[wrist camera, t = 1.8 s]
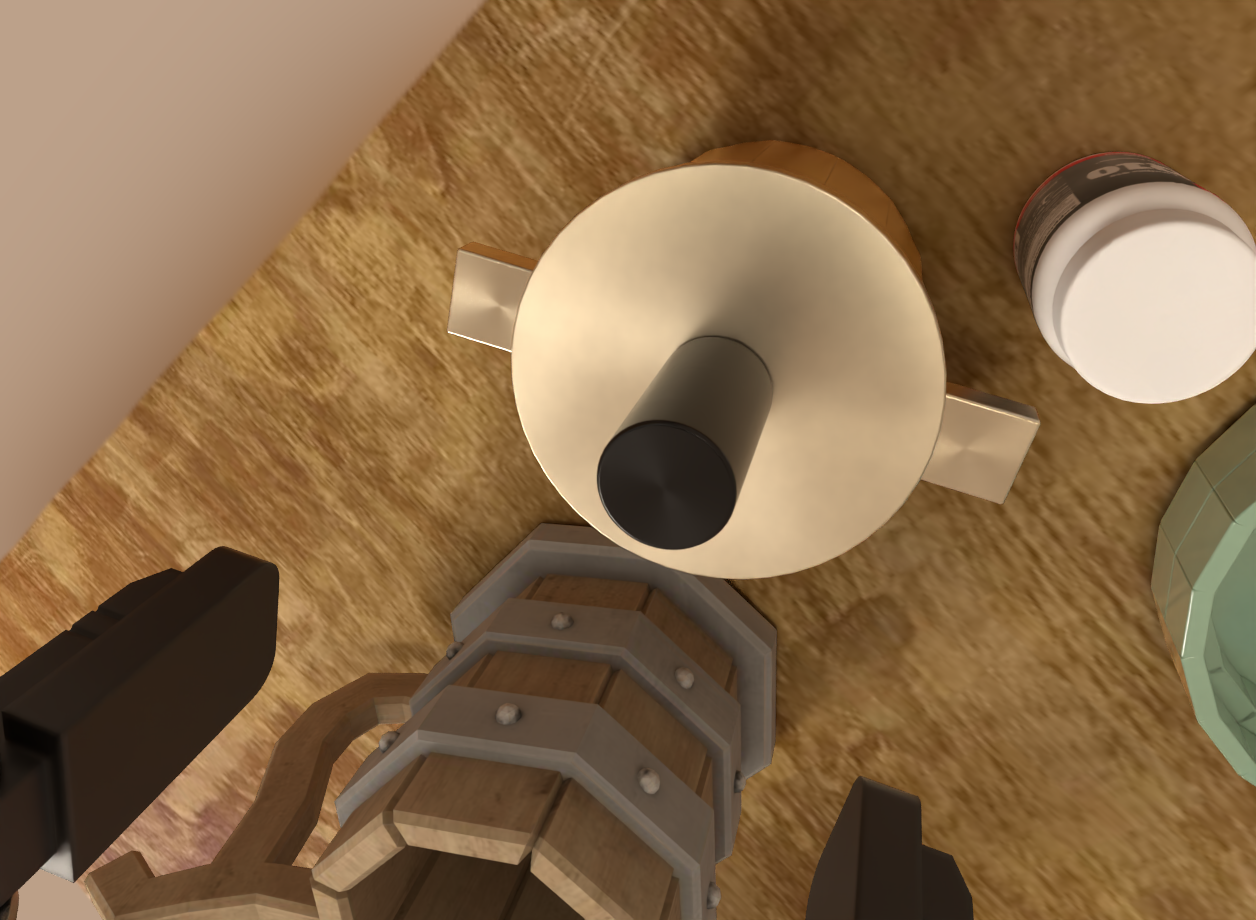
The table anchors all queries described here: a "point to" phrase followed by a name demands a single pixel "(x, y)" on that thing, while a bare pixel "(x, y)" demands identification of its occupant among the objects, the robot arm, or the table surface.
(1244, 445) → the bowl
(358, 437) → the table surface
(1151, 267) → the pill bottle
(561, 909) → the tankard
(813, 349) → the pot lid
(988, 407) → the pot
